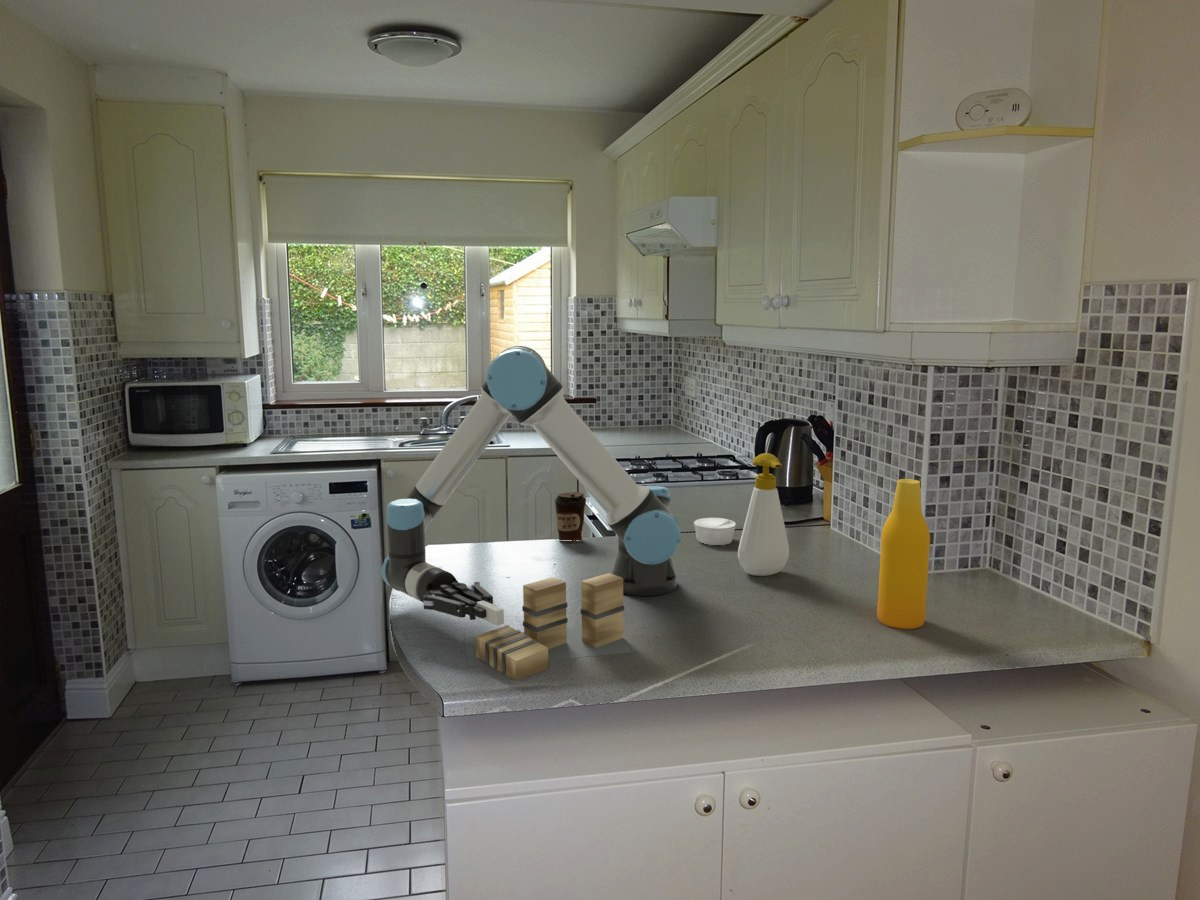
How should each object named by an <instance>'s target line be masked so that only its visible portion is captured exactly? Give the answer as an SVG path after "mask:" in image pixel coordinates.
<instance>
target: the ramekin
mask: <svg viewBox="0 0 1200 900" xmlns="http://www.w3.org/2000/svg"><path fill="white" fill-rule="evenodd" d="M693 526H694V530H695V531H694V532H695V537H696V540H697V542H698V543H700V542H701V543H700V544H702V543H704V544H703V545H705V544H709V545H708V546H712V545H721V546H726V544H727V545H729V544H731V542H732V541H733V540H734V536H735V535H734V534H735V529H736V527H737V523H736V522H735V521H734V520H732V519H731V520H730V519H728V518H724V517H723V518H722V517H702V518H698V519H696V520H694V521H693Z"/></svg>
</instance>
